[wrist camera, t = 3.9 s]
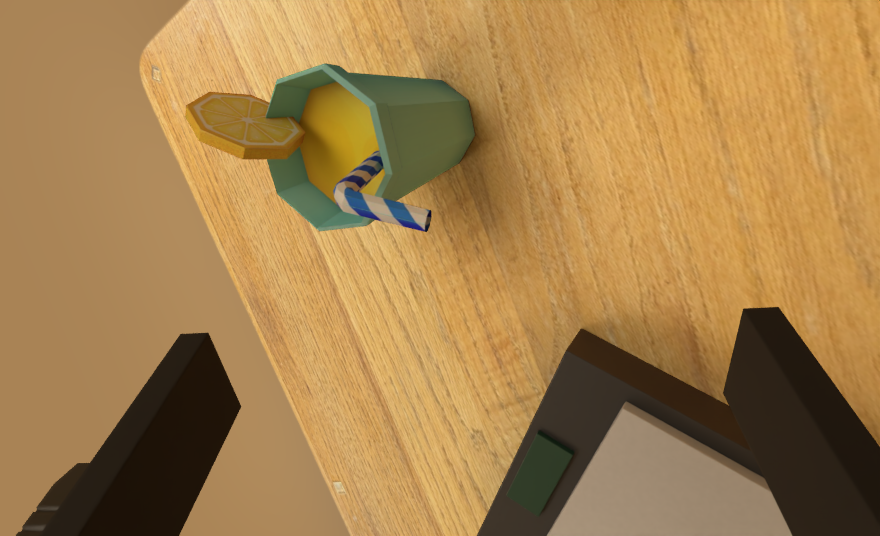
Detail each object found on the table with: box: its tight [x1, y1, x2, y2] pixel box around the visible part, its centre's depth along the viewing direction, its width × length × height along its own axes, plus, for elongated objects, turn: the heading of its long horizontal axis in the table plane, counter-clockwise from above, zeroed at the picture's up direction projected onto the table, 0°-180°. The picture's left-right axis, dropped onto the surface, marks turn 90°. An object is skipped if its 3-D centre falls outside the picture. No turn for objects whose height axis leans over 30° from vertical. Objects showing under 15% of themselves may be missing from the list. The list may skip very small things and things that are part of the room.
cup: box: [185, 64, 475, 232], centre depth 27 cm, size 14×8×15 cm, turn 82°
